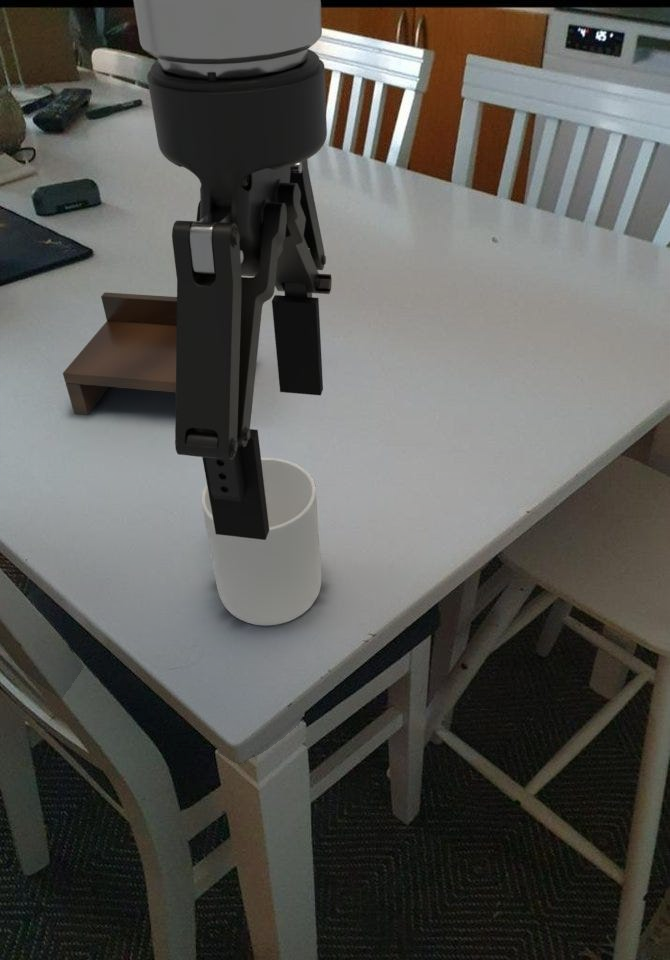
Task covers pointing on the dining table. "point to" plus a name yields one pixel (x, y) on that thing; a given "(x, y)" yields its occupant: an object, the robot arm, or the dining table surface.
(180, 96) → the robot arm
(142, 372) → the shelf
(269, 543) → the cup
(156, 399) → the dining table surface
